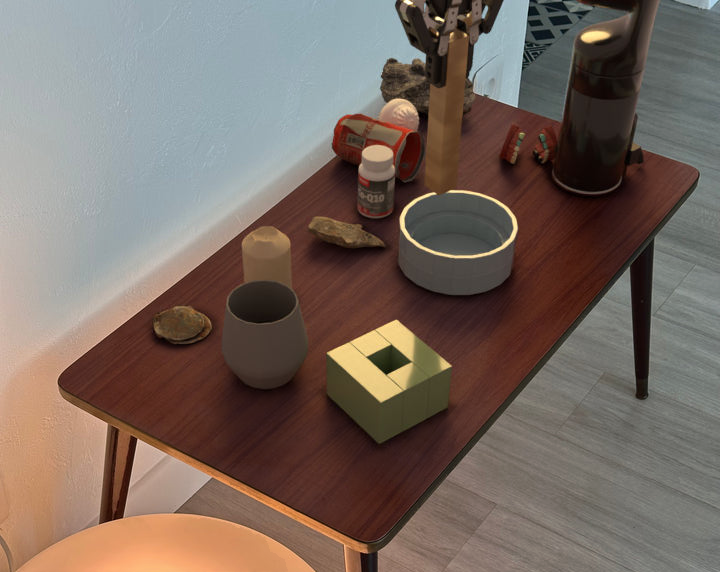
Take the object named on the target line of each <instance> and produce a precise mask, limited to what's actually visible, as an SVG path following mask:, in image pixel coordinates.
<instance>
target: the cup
mask: <svg viewBox="0 0 720 572" xmlns="http://www.w3.org/2000/svg"><path fill="white" fill-rule="evenodd" d="M224 309H225V310H224V319H223V327H222V337H221V343H220V350H221V353H222V356H223V359H224V362H225V364H226V365H227V366H228V367H229V368H230V369H231V370H232V372H233V373H234V374H235V375H236V376H237V377H238V379H240V380H241V381H242V382H243V384H245V385H247V386H249V387H251V388H254V389H260V390H271V389H276V388H279V387H282V386H284V385H286V384H287V383H288V382H290V381H291V380H292V379H293V378H294V376H295V375H296V373H297V372H298V370H299V369H300V367H301V366H302V365H303V363H304V362H305V360H306V359H307V356H308V350H309V337H308V336H309V335H308V333H307V328H306V325H305V324H306V323H305V320H304V316H303V313H302V308H301V305H300V301H299V297H298V295H297V292H296V291H295V290H294V289H293V288H292V289H291V288H290V287H289V286H288V285H286V284H283V283H281V282H278V281H273V280H266V279H265V280H253V281H250V282H246V283H245V282H244V283H241V284H240V285H238V286H236V287H234V288H233V289H232V290H231V292H230V293H229V294H228V295H227V297H226V302H225V308H224Z"/></svg>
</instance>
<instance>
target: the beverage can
mask: <svg viewBox="0 0 720 572" xmlns="http://www.w3.org/2000/svg"><path fill="white" fill-rule="evenodd" d="M373 145H382V146H386V147H388V148H390V149H391V150H392V151H393V165H394V167H395V178H397V179H398V180H401V181H402V182H403V183H406V182H412V181H413V180H414V179H415V178H416V176H417V175H418V174H419V173H420V172H421V171H420V170H421V166H422V163H423V161H424V160H425V159H426V150H427V148H426V145H425V139H424V134H423V133H422V132H421V131H418V130H417V131H414V130H410V129H406V128H404V127H399V126H396V125H393V124H391V123H388V122H384V121H381V120H378V118H377V119H376V118H374V117H370V116H368V115H365V114H363V113H354V114H351V113H350V114H345V115H343V116H341V117H340V118H339V119H337V122H336V124H335V126H334V128H333V137H332V142H331V149H332V151H333V152H334V154H335V155H336V156H338V157H339V158H340V159H342V160H343V161H344V162H347V163H350V164H352V165H355V166H358V167H359V166H360V164H361V163H362V151H363V150H364V149H365V148H367V147H369V146H373Z"/></svg>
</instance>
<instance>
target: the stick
mask: <svg viewBox="0 0 720 572" xmlns="http://www.w3.org/2000/svg"><path fill="white" fill-rule="evenodd" d="M436 39H438V31H437V35H436ZM468 44H469V35H467V34H465V33H463V32H462V31H460V30H458V29H456V28H455V31H454V32H453V33H451V34H450V39H449V45H448V50H447V53H446V54H448V56H447V70H446V84H445V86H444V87H442V88H439V89H438V88H436V87H435V86H433V85H432V84H430V99H429V114H428V117H427V118H428V119H427V133H426V134H427V135H426V136H427V138H426V156H425V167H424V168H425V169H424V183H423V184H424V186H425V187H426V188H428V189H429V190H430V191H432V193H433V192H435V193H436V194H437V195H441V194H444V193H446V192H448V191H450V190H455V189H457V183H458V173H459V170H458V169H459V161H460V151H461V149H460V148H461V138H462V137H461V136H462V125H463V117H462V115H463V103H464V91H465V79H466V67H467V56H468Z"/></svg>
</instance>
